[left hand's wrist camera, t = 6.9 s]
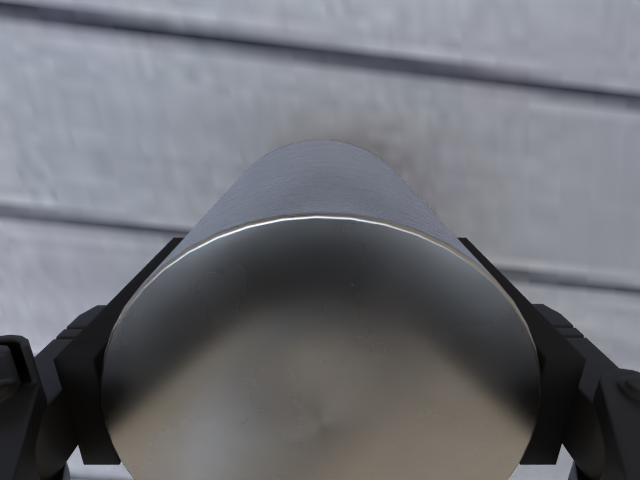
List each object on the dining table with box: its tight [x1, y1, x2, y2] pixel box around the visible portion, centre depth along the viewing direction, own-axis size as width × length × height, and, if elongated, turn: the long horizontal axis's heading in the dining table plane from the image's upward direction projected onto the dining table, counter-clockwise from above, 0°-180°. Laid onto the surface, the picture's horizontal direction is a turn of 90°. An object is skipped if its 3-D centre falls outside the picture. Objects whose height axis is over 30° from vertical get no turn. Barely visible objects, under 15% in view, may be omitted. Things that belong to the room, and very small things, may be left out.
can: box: [101, 140, 541, 480], centre depth 12 cm, size 8×8×10 cm
